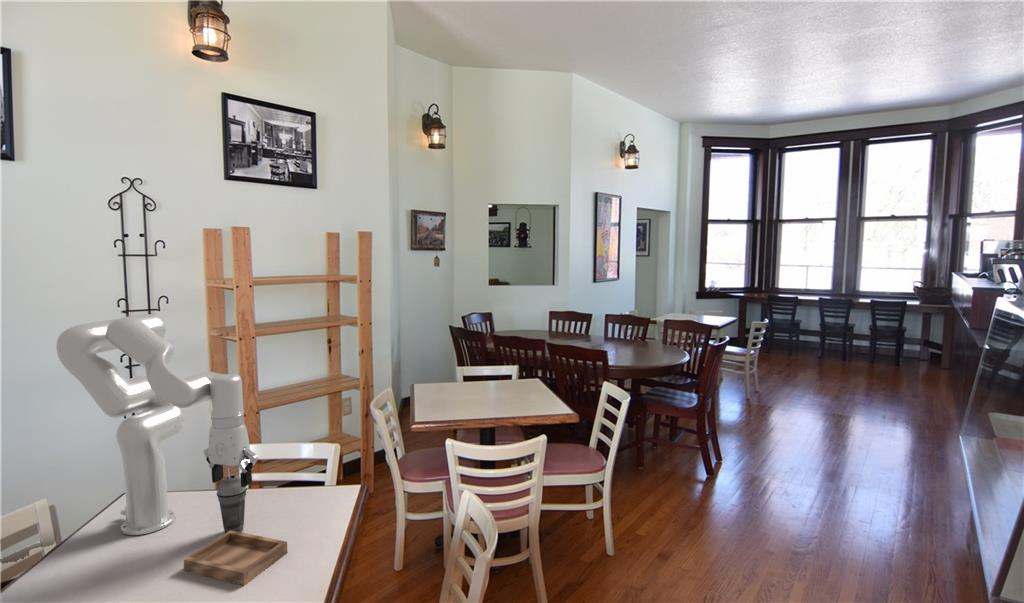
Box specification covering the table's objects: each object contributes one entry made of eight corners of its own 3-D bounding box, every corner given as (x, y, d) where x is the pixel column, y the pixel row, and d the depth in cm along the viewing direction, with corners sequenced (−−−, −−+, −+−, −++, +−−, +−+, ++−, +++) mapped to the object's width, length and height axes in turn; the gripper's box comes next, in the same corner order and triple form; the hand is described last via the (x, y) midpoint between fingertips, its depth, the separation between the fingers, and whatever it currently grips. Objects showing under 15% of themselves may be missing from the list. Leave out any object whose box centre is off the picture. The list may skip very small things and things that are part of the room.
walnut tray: (184, 571, 129) (183, 559, 129) (231, 541, 142) (230, 530, 142) (244, 585, 124) (243, 573, 123) (287, 552, 137) (286, 541, 136)
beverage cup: (236, 540, 143) (232, 467, 141) (212, 537, 144) (208, 465, 142) (254, 526, 150) (251, 456, 148) (231, 523, 151) (228, 454, 149)
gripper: (191, 422, 143) (195, 484, 145) (243, 428, 138) (247, 493, 139) (214, 414, 150) (218, 473, 152) (265, 419, 145) (268, 481, 147)
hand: (232, 482), depth 146 cm, fingers open, 9 cm apart
